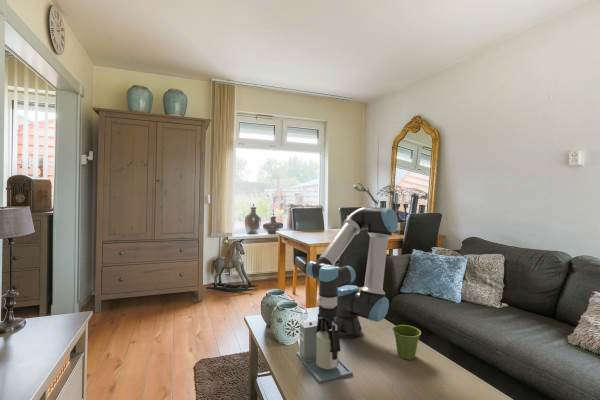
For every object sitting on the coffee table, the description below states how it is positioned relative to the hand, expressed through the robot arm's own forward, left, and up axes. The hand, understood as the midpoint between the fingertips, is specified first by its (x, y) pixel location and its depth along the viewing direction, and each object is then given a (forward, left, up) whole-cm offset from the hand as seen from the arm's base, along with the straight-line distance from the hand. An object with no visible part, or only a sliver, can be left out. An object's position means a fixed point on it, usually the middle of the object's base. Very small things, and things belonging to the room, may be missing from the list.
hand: (327, 360), depth 127 cm
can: (0, 0, -1) cm, 1 cm away
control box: (+2, -12, -4) cm, 13 cm away
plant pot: (-37, +4, -4) cm, 37 cm away
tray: (0, 0, -4) cm, 4 cm away
